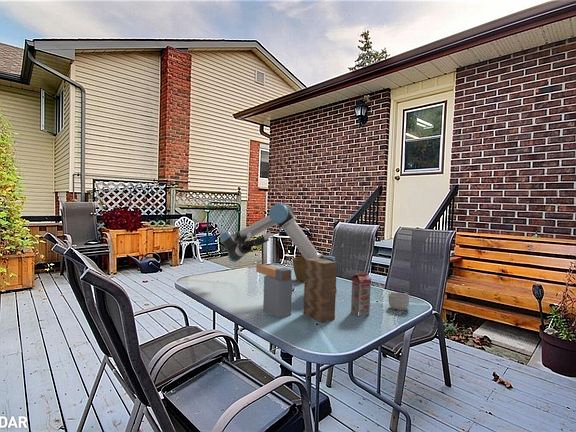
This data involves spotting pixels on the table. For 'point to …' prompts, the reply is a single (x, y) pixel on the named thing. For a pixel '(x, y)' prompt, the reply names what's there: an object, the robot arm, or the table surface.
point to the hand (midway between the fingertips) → (260, 233)
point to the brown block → (274, 272)
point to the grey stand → (277, 297)
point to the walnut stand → (320, 289)
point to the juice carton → (361, 294)
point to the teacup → (399, 300)
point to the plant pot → (299, 268)
